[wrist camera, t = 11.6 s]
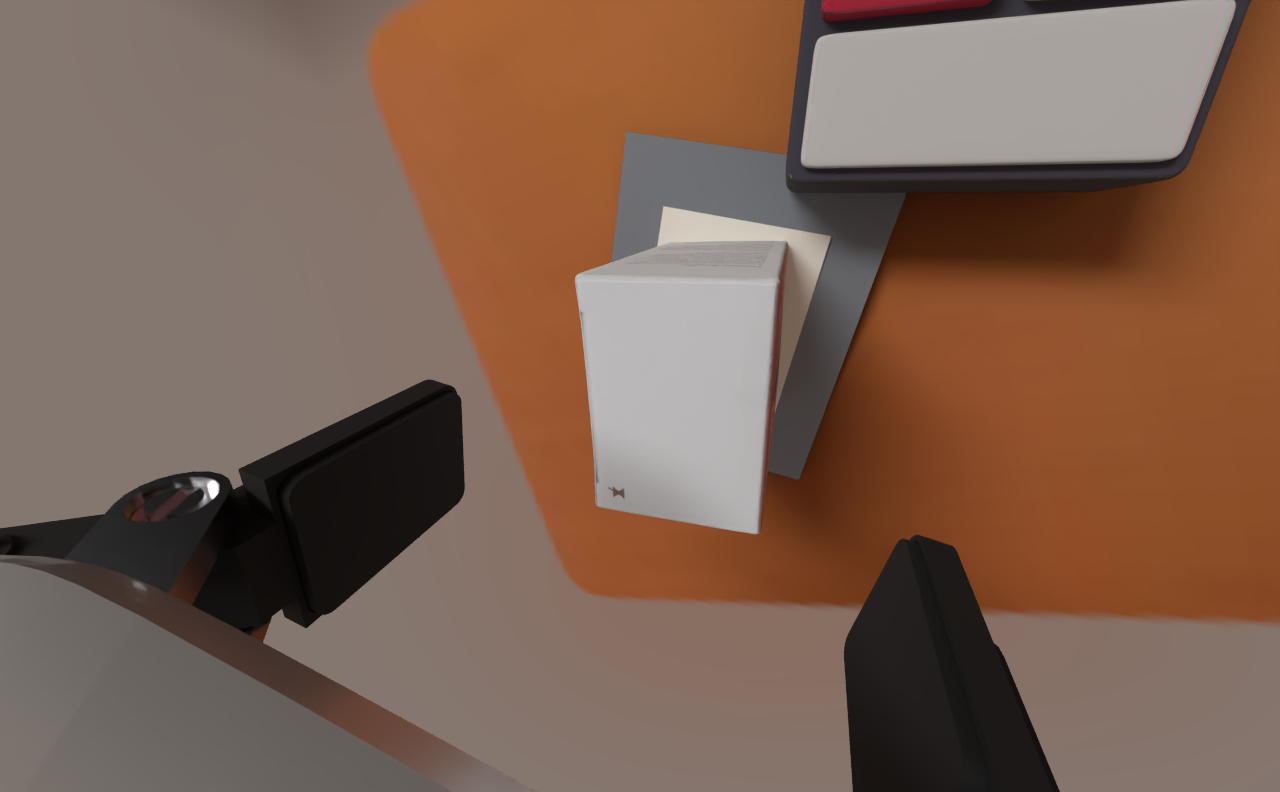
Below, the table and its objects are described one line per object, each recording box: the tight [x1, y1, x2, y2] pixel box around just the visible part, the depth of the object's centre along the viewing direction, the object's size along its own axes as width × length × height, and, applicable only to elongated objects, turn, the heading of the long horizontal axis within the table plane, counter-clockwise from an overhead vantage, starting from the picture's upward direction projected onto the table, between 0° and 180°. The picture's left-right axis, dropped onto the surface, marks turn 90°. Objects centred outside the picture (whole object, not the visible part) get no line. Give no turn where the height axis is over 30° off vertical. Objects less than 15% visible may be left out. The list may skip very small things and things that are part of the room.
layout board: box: [612, 132, 906, 480], centre depth 22 cm, size 12×15×1 cm
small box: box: [575, 241, 788, 534], centre depth 18 cm, size 8×6×10 cm
